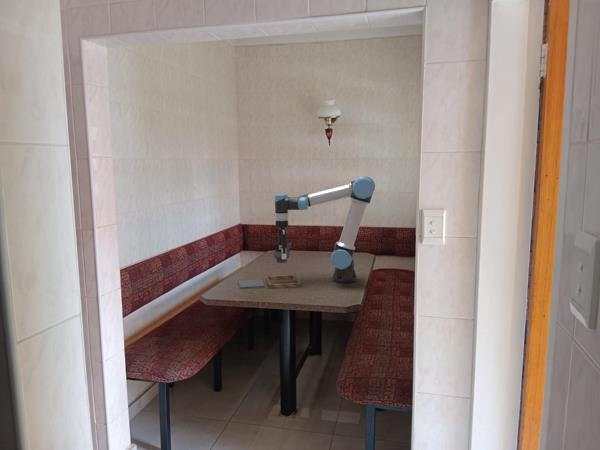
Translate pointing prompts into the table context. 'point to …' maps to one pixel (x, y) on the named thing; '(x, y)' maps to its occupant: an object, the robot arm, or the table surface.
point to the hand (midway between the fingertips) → (282, 257)
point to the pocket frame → (297, 284)
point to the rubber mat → (251, 284)
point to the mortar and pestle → (279, 254)
